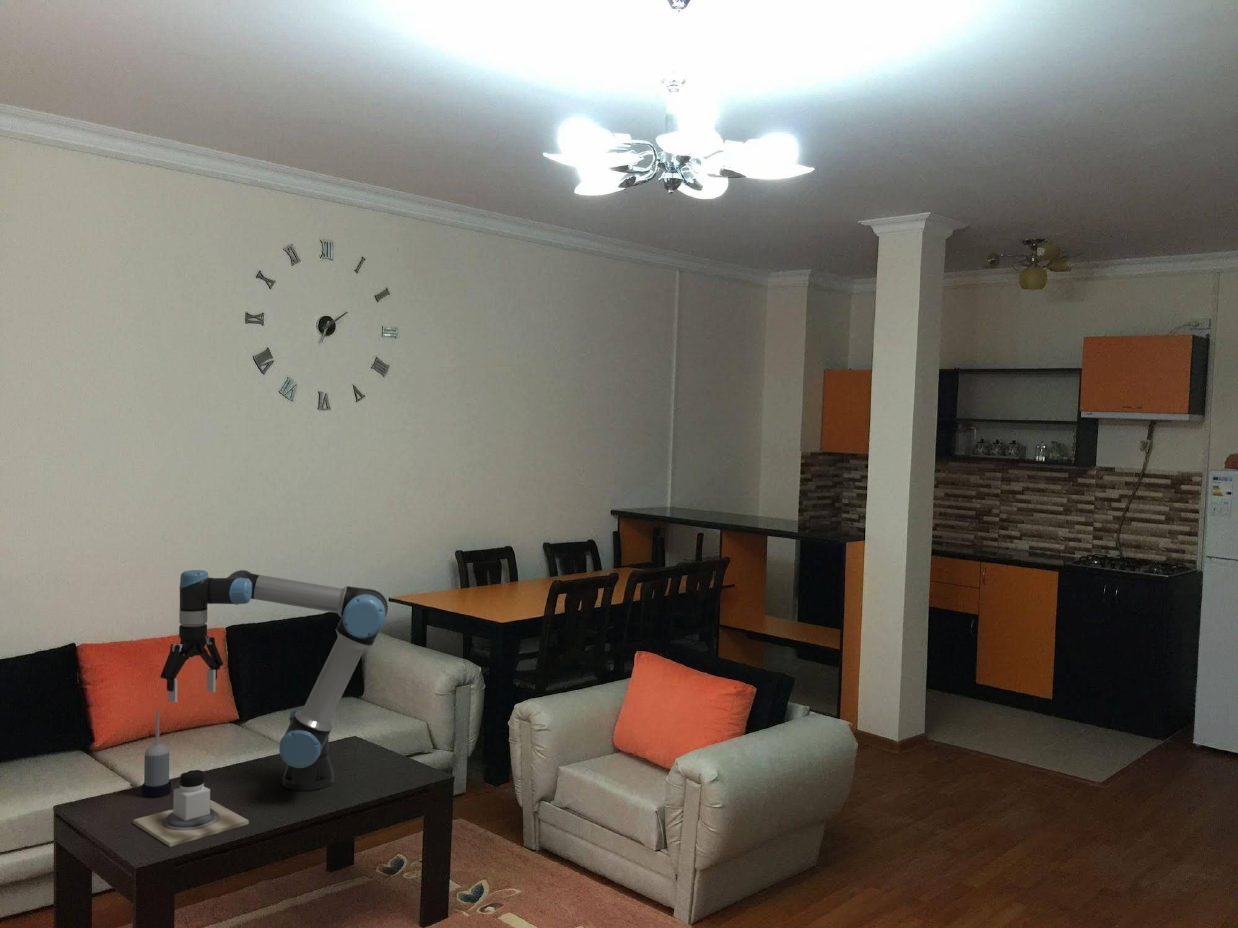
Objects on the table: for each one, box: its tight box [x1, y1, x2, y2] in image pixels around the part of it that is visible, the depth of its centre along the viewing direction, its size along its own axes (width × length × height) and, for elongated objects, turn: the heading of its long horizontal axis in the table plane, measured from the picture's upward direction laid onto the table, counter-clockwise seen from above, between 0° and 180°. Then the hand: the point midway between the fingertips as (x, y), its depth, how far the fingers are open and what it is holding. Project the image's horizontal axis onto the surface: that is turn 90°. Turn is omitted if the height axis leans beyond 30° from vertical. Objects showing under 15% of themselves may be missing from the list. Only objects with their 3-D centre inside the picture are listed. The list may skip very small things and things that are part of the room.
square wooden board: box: [132, 799, 250, 848], centre depth 283 cm, size 22×22×2 cm
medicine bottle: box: [172, 769, 211, 821], centre depth 283 cm, size 7×7×12 cm
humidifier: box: [141, 709, 172, 799], centre depth 305 cm, size 8×8×25 cm
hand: (192, 696), depth 299 cm, fingers open, 13 cm apart
